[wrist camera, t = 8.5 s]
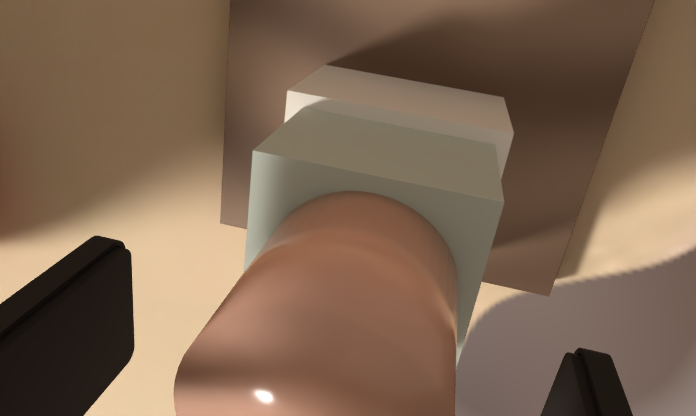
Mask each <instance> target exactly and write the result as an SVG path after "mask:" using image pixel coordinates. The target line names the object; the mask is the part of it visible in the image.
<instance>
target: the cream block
mask: <svg viewBox="0 0 696 416" xmlns="http://www.w3.org/2000/svg"><path fill="white" fill-rule="evenodd" d="M303 107H304V108H309V109H315V110H320V111H325V112H330V113H335V114H340V115H345V116H350V117H356V118H361V119H366V120H371V121H376V122H381V123H386V124H392V125H397V126H402V127H407V128H412V129H417V130H422V131H427V132H433V133H438V134H443V135H448V136H453V137H458V138H463V139H469V140H474V141H479V142H484V143H489V144H494V145H495V147H496V153H497V159H498V165H499V172H500V178H502V175H503V171H504V167H505V164H506V160H507V157H508V153H509V150H510V146H511V142H512V139H513V135H514V131H513V128H512V124H511V121H510V117H509V114H508V110H507V107H506V103H505V100H504V97H499V96H494V95H488V94H483V93H478V92H472V91H467V90H461V89H456V88H450V87H445V86H439V85H434V84H428V83H423V82H417V81H412V80H406V79H401V78H395V77H390V76H384V75H379V74H373V73H368V72H362V71H357V70H351V69H346V68H340V67H335V66H329V65H323V66H322V67H321V68H319V69H318V70H316V71H315V72H313V73H312V74H310V75H309V76H307V77H306V78H305V79H303V80H302V81H300V82H299V83H297V84H296V85H294V86H293V87H291V88H290V89H289V90H287V99H286V110H285V120H284V123H285V122H286V121H288V120H289V119H290V118H291V117H292V116H293V115H295V114H296V113H297V112H298V111H299V110H300V109H302V108H303Z"/></svg>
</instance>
